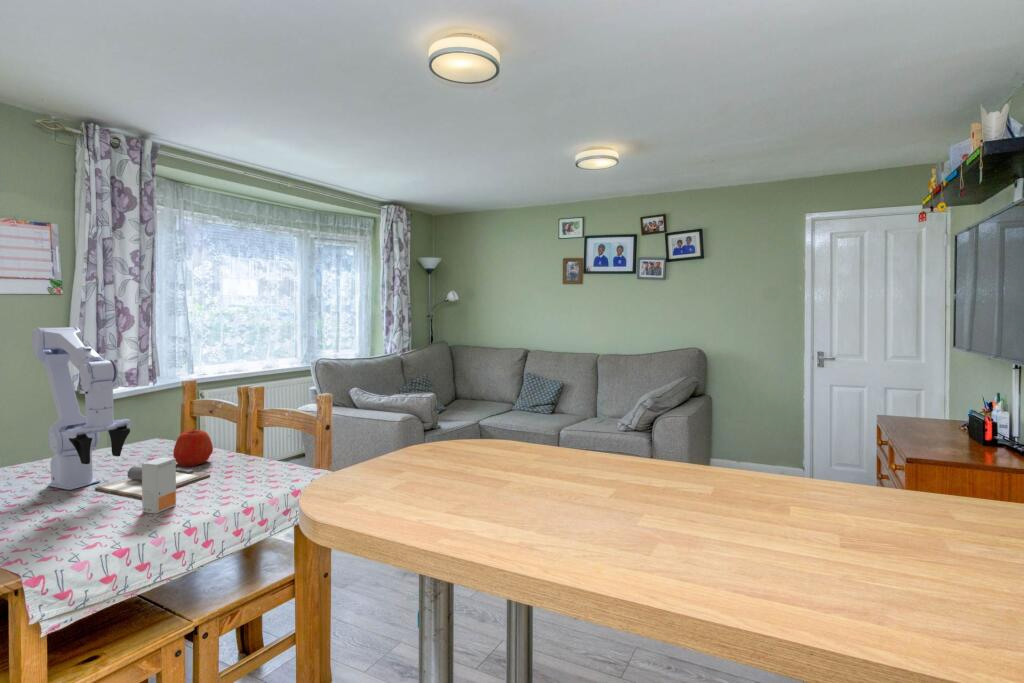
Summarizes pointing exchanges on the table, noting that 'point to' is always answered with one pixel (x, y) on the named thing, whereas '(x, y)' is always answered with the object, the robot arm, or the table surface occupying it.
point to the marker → (135, 473)
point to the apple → (192, 448)
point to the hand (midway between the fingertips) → (101, 459)
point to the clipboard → (135, 487)
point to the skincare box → (158, 485)
